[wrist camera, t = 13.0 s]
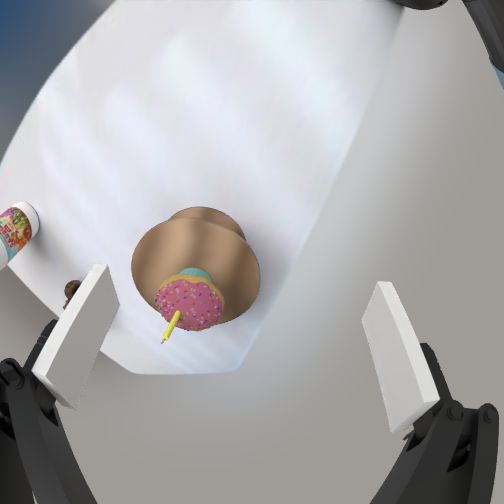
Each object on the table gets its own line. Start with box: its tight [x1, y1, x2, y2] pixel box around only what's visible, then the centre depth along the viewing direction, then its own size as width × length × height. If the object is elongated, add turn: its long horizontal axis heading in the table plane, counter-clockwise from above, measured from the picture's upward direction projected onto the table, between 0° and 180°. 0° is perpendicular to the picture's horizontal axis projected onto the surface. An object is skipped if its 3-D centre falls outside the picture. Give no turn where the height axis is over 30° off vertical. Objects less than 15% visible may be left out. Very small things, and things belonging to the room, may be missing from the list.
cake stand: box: [131, 207, 260, 325], centre depth 42 cm, size 18×18×9 cm
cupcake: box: [155, 268, 225, 344], centre depth 33 cm, size 9×8×12 cm
